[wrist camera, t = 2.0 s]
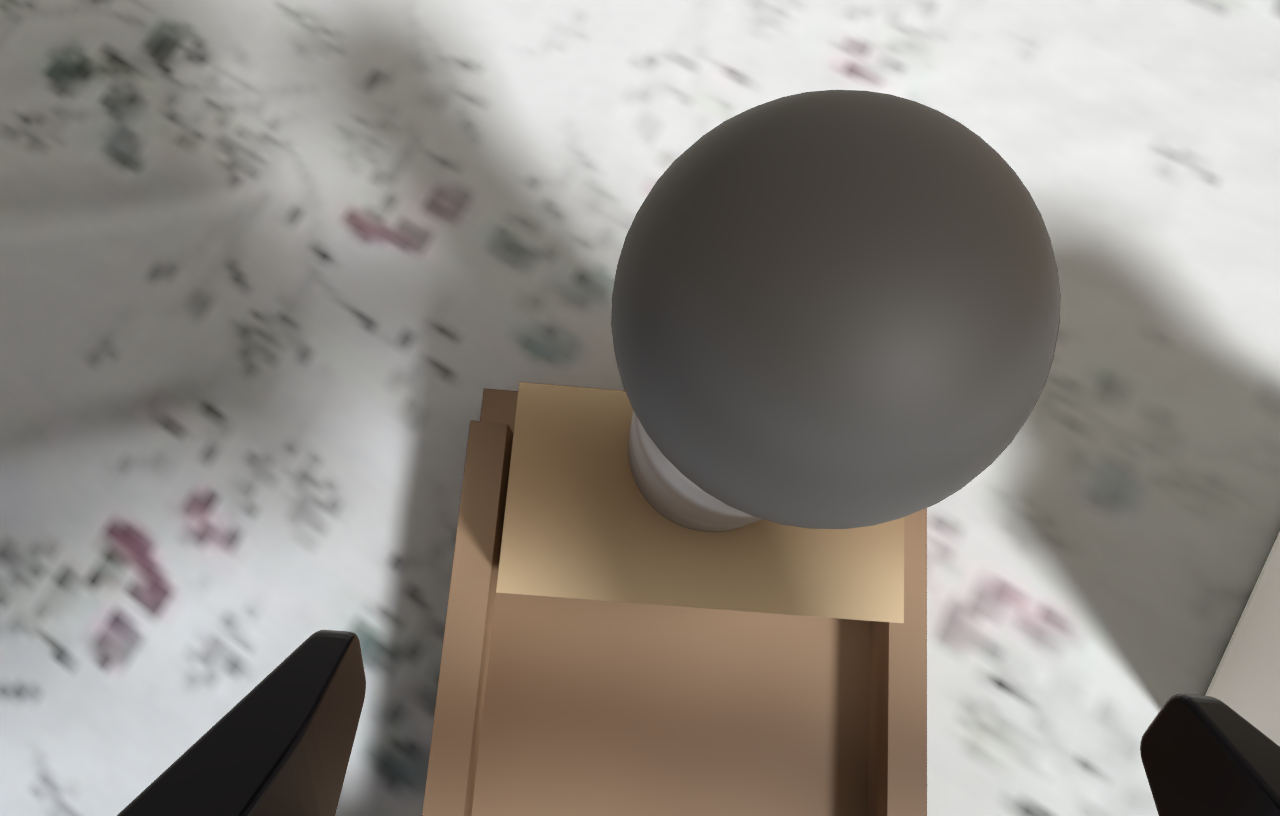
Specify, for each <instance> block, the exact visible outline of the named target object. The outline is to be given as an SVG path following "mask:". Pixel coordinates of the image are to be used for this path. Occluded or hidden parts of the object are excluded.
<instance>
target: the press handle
mask: <svg viewBox="0 0 1280 816" xmlns="http://www.w3.org/2000/svg"><path fill="white" fill-rule="evenodd" d="M1059 322H1060V288H1059V279H1058V270H1057V266H1056V262H1055V257H1054V253H1053V249H1052V245H1051V241H1050V237H1049V234H1048V232H1047V229H1046V227H1045V224H1044V221H1043V219H1042V216H1041V214H1040V212H1039V210H1038V208H1037V206H1036V204H1035V202H1034V201H1033V199H1032V197H1031V195H1030V193H1029V191H1028V190H1027V189H1026V187H1025V186H1024V184H1023V183H1022V181H1021V180H1020V179H1019V177H1018V176H1017V174H1016V173H1015V172H1014V170H1013V169H1012V168H1011V167H1010V166H1009V165H1008V164H1007V163H1006V161H1005V160H1004V159H1003V158H1002V157H1001V156H1000V155H999V154H998V153H997V152H996V151H995V150H994V149H993V148H992V147H991V146H989V145H988V144H987V143H986V142H985V141H984V140H983V139H982V138H980V137H979V136H978V135H976V134H975V133H973V132H972V131H971V130H969V129H968V128H966V127H965V126H963V125H962V124H961V123H959V122H957V121H956V120H954V119H952V118H950V117H948V116H946V115H944V114H943V113H941V112H939V111H937V110H935V109H932V108H930V107H927V106H925V105H922V104H920V103H917V102H915V101H911V100H908V99H904V98H900V97H897V96H893V95H889V94H882V93H876V92H869V91H852V90H828V91H816V92H806V93H801V94H796V95H791V96H787V97H782V98H779V99H776V100H773V101H770V102H767V103H765V104H762V105H759V106H756V107H754V108H751V109H749V110H747V111H745V112H743V113H741V114H739V115H737V116H735V117H733V118H731V119H729V120H727V121H725V122H723V123H722V124H720V125H719V126H717V127H716V128H714V129H713V130H711V131H710V132H708V133H707V134H705V135H704V136H702V137H701V138H700V139H699V140H698V141H697V142H695V143H694V144H693V145H692V146H691V147H690V148H689V149H687V150H686V151H685V152H684V153H683V154H682V155H681V156H680V157H678V158H677V159H676V160H675V161H674V162H673V163H672V164H671V166H670V167H669V168H668V169H667V170H666V171H665V173H664V174H663V175H662V176H661V177H660V178H659V180H658V181H657V182H656V184H655V185H654V187H653V188H652V190H651V191H650V193H649V195H648V196H647V198H646V199H645V201H644V202H643V204H642V206H641V207H640V209H639V211H638V212H637V214H636V216H635V218H634V220H633V223H632V225H631V227H630V229H629V231H628V233H627V236H626V238H625V242H624V245H623V248H622V251H621V255H620V258H619V261H618V265H617V270H616V275H615V282H614V288H613V294H612V321H611V326H612V334H613V342H614V351H615V356H616V361H617V365H618V369H619V372H620V376H621V380H622V384H623V387H624V389H625V391H622V390H610V389H598V388H586V387H574V386H562V385H550V384H538V383H526V382H519V390H518V399H517V408H516V417H515V426H514V435H513V444H512V453H511V462H510V471H509V480H508V490H507V499H506V508H505V517H504V526H503V535H502V544H501V553H500V562H499V571H498V580H497V589H496V593H510V594H523V595H536V596H549V597H562V598H575V599H589V600H602V601H615V602H628V603H641V604H655V605H668V606H681V607H694V608H707V609H720V610H734V611H747V612H760V613H773V614H786V615H800V616H813V617H826V618H839V619H852V620H865V621H879V622H892V623H904V517H905V516H908V515H910V514H913V513H915V512H918V511H920V510H922V509H925V508H927V507H929V506H932V505H934V504H937V503H938V502H940V501H942V500H943V499H945V498H947V497H948V496H950V495H952V494H953V493H955V492H957V491H958V490H960V489H962V488H963V487H964V486H965V485H966V484H968V483H969V482H970V481H971V480H973V479H974V478H975V477H976V476H977V475H979V474H980V473H981V472H982V471H984V470H985V469H986V468H987V467H988V466H989V465H991V464H992V463H993V462H994V461H995V460H996V458H997V457H998V456H999V455H1000V454H1001V453H1002V452H1003V451H1004V450H1005V449H1006V448H1007V446H1008V445H1009V444H1010V443H1011V442H1012V440H1013V439H1014V438H1015V436H1016V435H1017V433H1018V432H1019V430H1020V429H1021V427H1022V426H1023V424H1024V423H1025V421H1026V420H1027V418H1028V417H1029V415H1030V413H1031V412H1032V410H1033V408H1034V406H1035V404H1036V402H1037V400H1038V398H1039V396H1040V394H1041V392H1042V390H1043V387H1044V385H1045V383H1046V379H1047V376H1048V373H1049V370H1050V367H1051V364H1052V361H1053V356H1054V351H1055V346H1056V340H1057V334H1058V328H1059Z"/></svg>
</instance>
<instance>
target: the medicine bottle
mask: <svg viewBox="0 0 1280 816" xmlns="http://www.w3.org/2000/svg"><path fill="white" fill-rule="evenodd" d="M1205 695H1206V696H1211V697H1214V698H1217V699H1219V700H1221V701H1222V702H1224V703H1225V704H1226V705H1228V706H1229V707H1230V708H1231V709H1233V710H1234V711H1235V712H1237V713H1238V714H1239V715H1240V716H1242V717H1243V718H1244V719H1245V720H1247V721H1248V722H1249V723H1251V724H1252V725H1253V726H1254V727H1256V728H1257V729H1258V730H1259V731H1261V732H1262V733H1263V734H1265V735H1266V736H1267V737H1268V738H1270V739H1271V740H1272V741H1273V742H1275V743H1276V744H1277V745H1278V746H1280V531H1279V534H1278V536H1277V538H1276V540H1275V542H1274V545H1273V547H1272V549H1271V551H1270V553H1269V556H1268V558H1267V560H1266V562H1265V564H1264V567H1263V569H1262V571H1261V573H1260V576H1259V578H1258V580H1257V582H1256V584H1255V587H1254V589H1253V591H1252V593H1251V595H1250V598H1249V600H1248V602H1247V604H1246V606H1245V609H1244V611H1243V613H1242V615H1241V617H1240V620H1239V622H1238V624H1237V626H1236V628H1235V631H1234V633H1233V635H1232V637H1231V639H1230V642H1229V644H1228V646H1227V648H1226V650H1225V653H1224V655H1223V657H1222V659H1221V661H1220V664H1219V666H1218V668H1217V670H1216V672H1215V675H1214V677H1213V679H1212V681H1211V683H1210V686H1209V688H1208V690H1207V692H1206V694H1205Z"/></svg>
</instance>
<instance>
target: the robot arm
mask: <svg viewBox="0 0 1280 816" xmlns="http://www.w3.org/2000/svg"><path fill="white" fill-rule="evenodd" d="M365 689H366V680H365V673H364V667H363V661H362V655H361V648H360V642H359V639H358V637H357V635H356V634H355V633H353V632H347V631H334V630H320V631H318V632H316V633H314V634H312V635H311V636H310V637H309V638H308V639H307V640H306V641H305V642H304V643H303V644H301V645H300V646H299V647H298V648H297V649H296V650H295V651H294V652H293V653H292V654H291V655H290V656H288V657H287V658H286V659H285V660H284V661H283V662H282V663H281V664H280V665H279V666H278V667H277V668H276V669H274V670H273V671H272V672H271V673H270V674H269V675H268V676H267V677H266V678H265V679H264V680H263V681H262V682H260V683H259V684H258V685H257V686H256V687H255V688H254V689H253V690H252V691H251V692H250V693H249V694H248V695H246V696H245V697H244V698H243V699H242V700H241V701H240V702H239V703H238V704H237V705H236V706H235V707H234V708H232V709H231V710H230V711H229V712H228V713H227V714H226V715H225V716H224V717H223V718H222V719H221V720H220V721H218V722H217V723H216V724H215V725H214V726H213V727H212V728H211V729H210V730H209V731H208V732H207V733H206V734H204V735H203V736H202V737H201V738H200V739H199V740H198V741H197V742H196V743H195V744H194V745H193V746H191V747H190V748H189V749H188V750H187V751H186V752H185V753H184V754H183V755H182V756H181V757H180V758H179V759H177V760H176V761H175V762H174V763H173V764H172V765H171V766H170V767H169V768H168V769H167V770H166V771H165V772H163V773H162V774H161V775H160V776H159V777H158V778H157V779H156V780H155V781H154V782H153V783H152V784H151V785H149V786H148V787H147V788H146V789H145V790H144V791H143V792H142V793H141V794H140V795H139V796H138V797H137V798H135V799H134V800H133V801H132V802H131V803H130V804H129V805H128V806H127V807H126V808H125V809H124V810H123V811H121V812H120V813H119V814H118V815H117V816H335V813H336V809H337V805H338V801H339V797H340V793H341V789H342V786H343V782H344V778H345V774H346V770H347V766H348V762H349V758H350V754H351V750H352V746H353V742H354V738H355V734H356V730H357V726H358V722H359V718H360V715H361V711H362V707H363V702H364V697H365ZM1140 751H1141V758H1142V762H1143V765H1144V769H1145V772H1146V775H1147V778H1148V782H1149V785H1150V788H1151V791H1152V795H1153V798H1154V801H1155V804H1156V808H1157V811H1158V814H1159V816H1280V746H1278V745H1277V744H1276V743H1275V742H1273V741H1272V740H1271V739H1270V738H1268V737H1267V736H1266V735H1265V734H1263V733H1262V732H1261V731H1259V730H1258V729H1257V728H1256V727H1254V726H1253V725H1252V724H1251V723H1249V722H1248V721H1247V720H1245V719H1244V718H1243V717H1242V716H1240V715H1239V714H1238V713H1237V712H1235V711H1234V710H1233V709H1231V708H1230V707H1229V706H1228V705H1226V704H1225V703H1224V702H1222V701H1221V700H1219V699H1217V698H1214V697H1211V696H1206V695H1193V694H1176V695H1174V696H1172V697H1171V698H1170V699H1169V700H1168V701H1167V702H1166V703H1165V705H1164V706H1163V708H1162V709H1161V710H1160V712H1159V713H1158V715H1157V716H1156V717H1155V719H1154V720H1153V722H1152V723H1151V724H1150V726H1149V727H1148V729H1147V730H1146V731H1145V733H1144V734H1143V736H1142V740H1141V746H1140Z"/></svg>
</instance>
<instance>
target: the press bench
mask: <svg viewBox="0 0 1280 816" xmlns="http://www.w3.org/2000/svg"><path fill="white" fill-rule="evenodd" d="M517 399H518V391H507V390H495V389H484V391H483V400H482V408H481V417H480V421H470V428H469V436H468V444H467V452H466V460H465V469H464V477H463V485H462V493H461V501H460V509H459V518H458V526H457V534H456V542H455V550H454V559H453V567H452V575H451V583H450V591H449V600H448V608H447V616H446V624H445V632H444V641H443V649H442V657H441V665H440V673H439V681H438V690H437V698H436V706H435V714H434V722H433V731H432V739H431V747H430V755H429V763H428V772H427V780H426V788H425V796H424V804H423V812H422V816H927V508H925V509H922V510H920V511H918V512H915V513H913V514H910V515H908V516H905V517H904V623H892V622H879V621H865V620H852V619H839V618H826V617H813V616H800V615H786V614H773V613H760V612H747V611H734V610H720V609H707V608H694V607H681V606H668V605H655V604H641V603H628V602H615V601H602V600H589V599H575V598H562V597H549V596H536V595H523V594H510V593H496V589H497V580H498V571H499V562H500V553H501V544H502V535H503V526H504V517H505V508H506V499H507V490H508V480H509V471H510V462H511V453H512V444H513V435H514V426H515V417H516V408H517Z"/></svg>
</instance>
